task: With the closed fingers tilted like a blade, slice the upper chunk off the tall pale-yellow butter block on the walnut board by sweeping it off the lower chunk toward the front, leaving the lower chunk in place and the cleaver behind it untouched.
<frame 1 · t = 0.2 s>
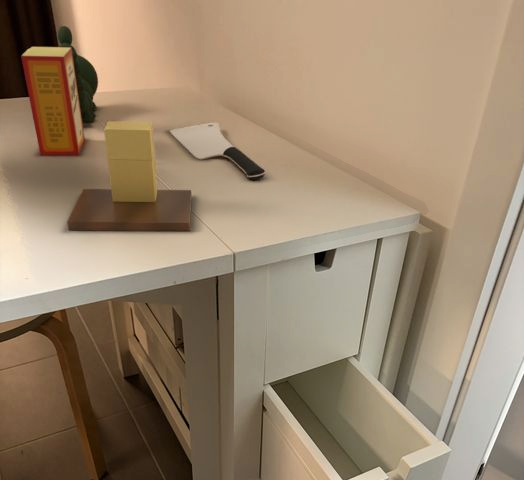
toy figurine: (79, 117, 119), on the table
baking soda box: (63, 148, 102), on the table
kitchen cleaver: (216, 154, 103), on the table
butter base: (135, 196, 81), point 1 cm above the table, touching butter board, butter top
butter board: (134, 212, 79), on the table
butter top: (131, 155, 77), point 7 cm above the table, touching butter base
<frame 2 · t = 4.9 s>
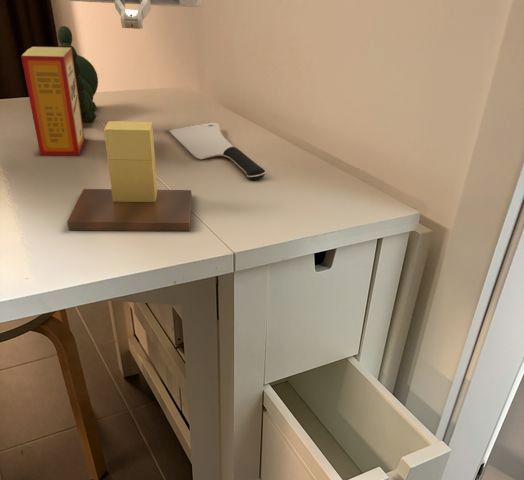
hand: (131, 25, 79), 21 cm above the table, tool tilted 45°, fingers closed
nothing on the table moved.
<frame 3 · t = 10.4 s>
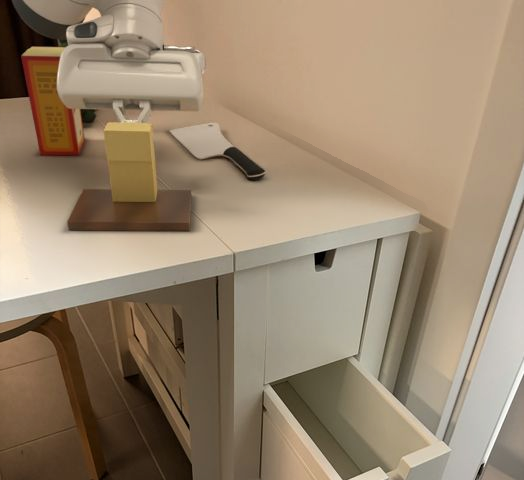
hand: (132, 134, 78), 9 cm above the table, tool tilted 45°, fingers closed, pressing on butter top
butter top: (131, 156, 77), point 7 cm above the table, touching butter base, gripper
everything else where it was.
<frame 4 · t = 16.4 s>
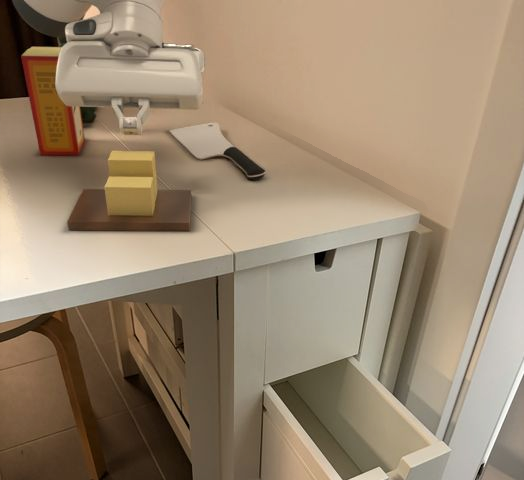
hand: (130, 132, 77), 10 cm above the table, tool tilted 45°, fingers closed
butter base: (135, 196, 81), point 1 cm above the table, touching butter board
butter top: (132, 190, 77), point 3 cm above the table, tilted 90°, touching butter board
everything else where it was.
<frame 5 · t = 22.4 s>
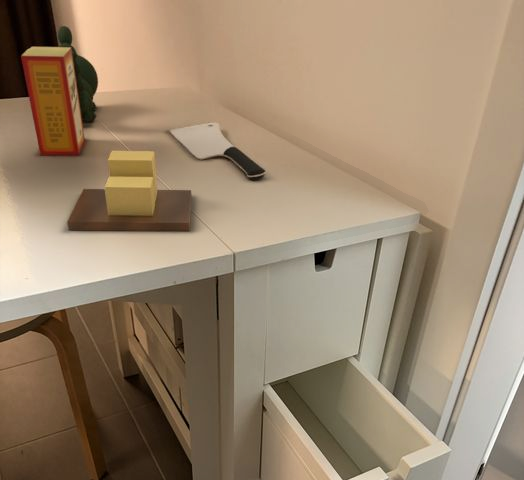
nothing on the table moved.
at the end: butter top inside the target area on the table beside the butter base (6.8 cm from its centre), point 2.0 cm above the table; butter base moved 0.0 cm from its start; kitchen cleaver moved 0.2 cm from its start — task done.
